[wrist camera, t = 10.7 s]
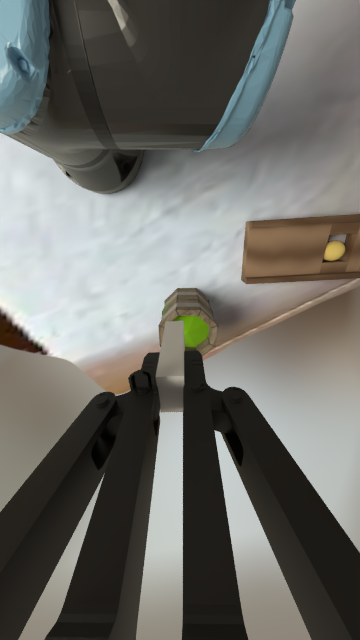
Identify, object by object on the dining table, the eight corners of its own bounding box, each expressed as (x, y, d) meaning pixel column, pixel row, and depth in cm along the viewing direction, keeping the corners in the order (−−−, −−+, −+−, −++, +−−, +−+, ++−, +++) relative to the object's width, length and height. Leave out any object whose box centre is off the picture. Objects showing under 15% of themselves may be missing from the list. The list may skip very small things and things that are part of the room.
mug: (173, 278, 41) (170, 297, 30) (218, 297, 43) (230, 321, 32) (150, 336, 47) (140, 369, 37) (190, 351, 49) (192, 385, 38)
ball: (319, 241, 37) (331, 242, 34) (338, 239, 37) (352, 240, 34) (315, 260, 39) (326, 263, 36) (333, 258, 39) (347, 261, 35)
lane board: (246, 221, 36) (252, 221, 33) (366, 213, 35) (385, 212, 32) (241, 279, 41) (246, 284, 37) (347, 273, 40) (361, 277, 37)
